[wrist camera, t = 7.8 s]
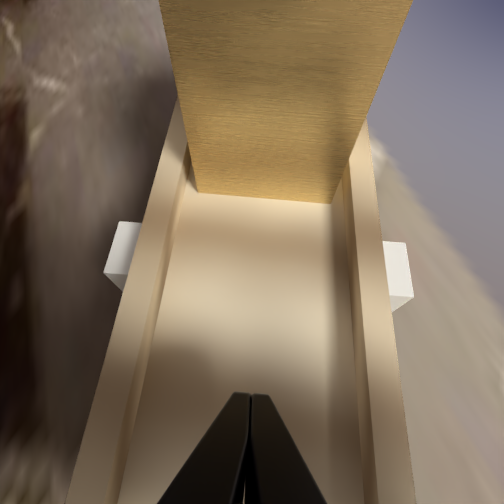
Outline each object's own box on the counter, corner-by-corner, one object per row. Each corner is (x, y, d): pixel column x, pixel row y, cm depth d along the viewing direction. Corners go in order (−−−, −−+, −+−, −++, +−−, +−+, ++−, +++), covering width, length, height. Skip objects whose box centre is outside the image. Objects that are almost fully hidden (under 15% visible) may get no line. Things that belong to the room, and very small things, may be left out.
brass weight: (330, 204, 14) (444, -77, 6) (198, 192, 14) (138, -98, 6) (327, 100, 18) (399, -175, 9) (219, 91, 18) (197, -187, 10)
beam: (407, 657, 9) (476, 757, 6) (58, 623, 9) (-19, 707, 7) (351, 106, 20) (368, 58, 17) (189, 95, 20) (181, 45, 17)
